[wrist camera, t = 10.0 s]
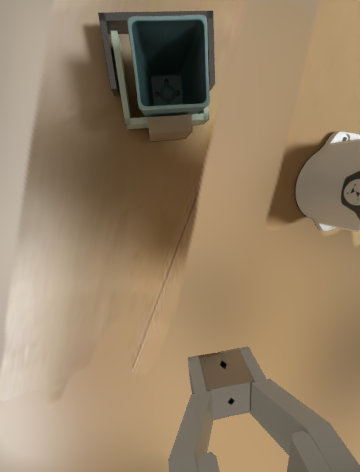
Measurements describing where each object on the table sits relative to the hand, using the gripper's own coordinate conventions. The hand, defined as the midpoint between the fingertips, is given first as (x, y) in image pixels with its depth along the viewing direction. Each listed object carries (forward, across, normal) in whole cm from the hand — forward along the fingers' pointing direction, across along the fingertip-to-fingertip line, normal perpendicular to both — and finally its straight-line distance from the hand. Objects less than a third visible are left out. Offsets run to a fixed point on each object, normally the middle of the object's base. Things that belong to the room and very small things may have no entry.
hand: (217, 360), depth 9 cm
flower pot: (+29, -2, -21) cm, 36 cm away
